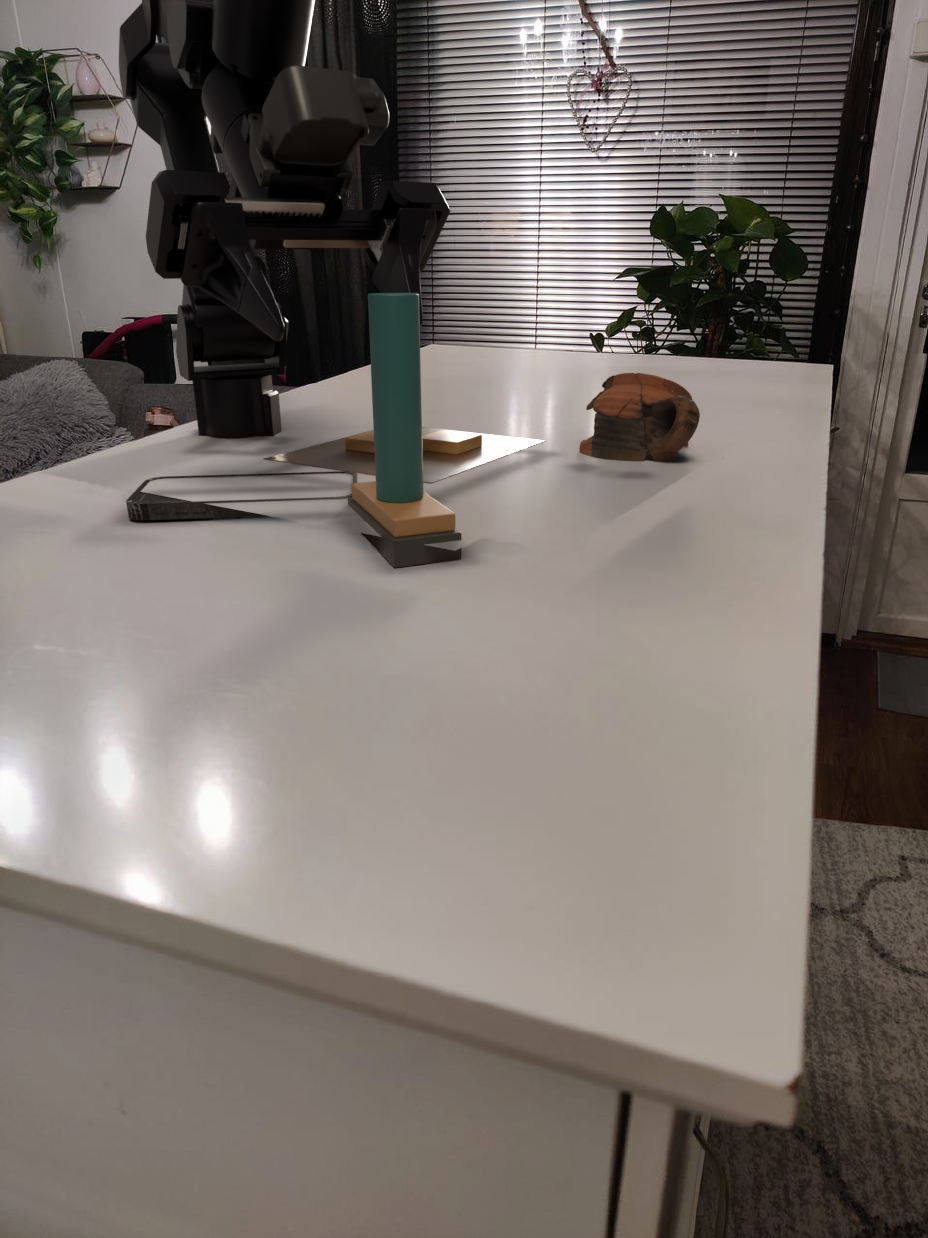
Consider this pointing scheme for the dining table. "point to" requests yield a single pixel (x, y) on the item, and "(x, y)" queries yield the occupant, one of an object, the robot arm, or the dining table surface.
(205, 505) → the black flat open frame
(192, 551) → the dining table surface
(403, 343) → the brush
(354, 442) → the flat wooden block
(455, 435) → the tan flat wooden slab
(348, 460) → the tray
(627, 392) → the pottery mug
